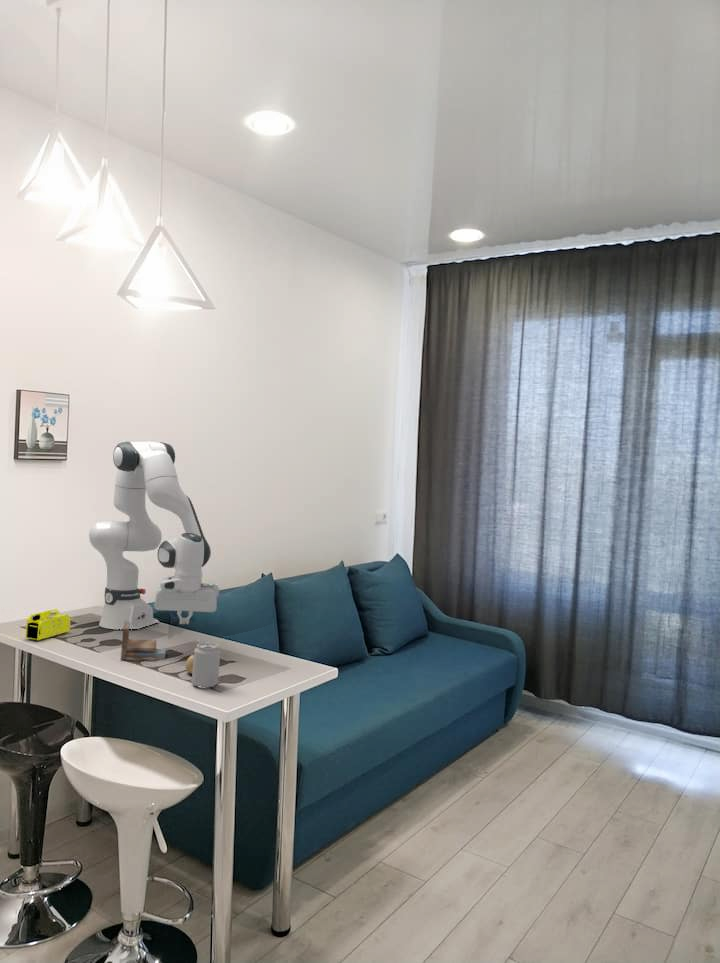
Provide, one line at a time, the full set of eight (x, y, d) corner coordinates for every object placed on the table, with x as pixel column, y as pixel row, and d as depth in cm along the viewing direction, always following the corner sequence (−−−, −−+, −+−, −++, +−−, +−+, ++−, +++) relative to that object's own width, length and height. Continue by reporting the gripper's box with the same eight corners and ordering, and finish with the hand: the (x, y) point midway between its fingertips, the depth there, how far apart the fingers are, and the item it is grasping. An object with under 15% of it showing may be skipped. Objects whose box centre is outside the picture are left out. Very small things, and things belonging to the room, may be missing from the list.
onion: (210, 670, 234) (211, 647, 233) (212, 677, 226) (214, 654, 226) (183, 670, 231) (185, 647, 231) (185, 678, 224) (187, 654, 223)
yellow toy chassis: (56, 631, 265) (58, 607, 265) (70, 633, 263) (71, 609, 263) (24, 640, 250) (25, 615, 250) (38, 642, 248) (40, 617, 248)
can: (191, 689, 214) (194, 647, 213) (191, 681, 221) (194, 641, 221) (217, 689, 215) (221, 648, 215) (217, 681, 223) (220, 641, 222)
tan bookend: (155, 651, 249) (158, 622, 248) (155, 660, 239) (157, 629, 238) (122, 651, 246) (125, 621, 246) (120, 660, 236) (123, 628, 236)
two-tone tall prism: (165, 654, 247) (165, 648, 247) (164, 659, 241) (165, 653, 241) (127, 653, 244) (127, 647, 244) (126, 659, 238) (126, 652, 238)
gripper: (218, 582, 253) (215, 622, 254) (156, 579, 248) (152, 620, 249) (220, 586, 247) (216, 627, 248) (156, 583, 242) (152, 625, 243)
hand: (184, 623), depth 249 cm, fingers closed
